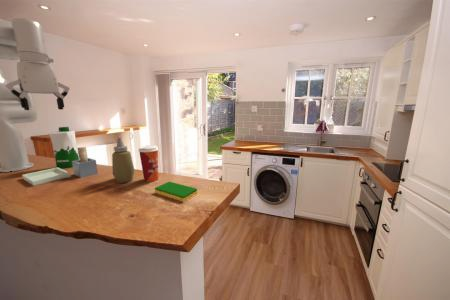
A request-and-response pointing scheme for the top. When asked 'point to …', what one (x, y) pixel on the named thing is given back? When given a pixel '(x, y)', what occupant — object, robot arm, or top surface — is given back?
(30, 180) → the tray
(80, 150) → the dowel
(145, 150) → the paper cup
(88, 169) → the holder
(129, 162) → the squeeze bottle
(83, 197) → the top surface
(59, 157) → the milk carton
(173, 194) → the dish sponge
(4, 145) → the robot arm
